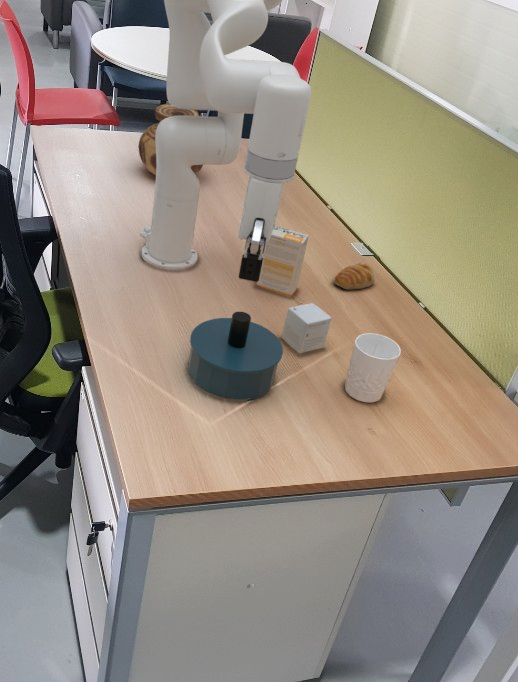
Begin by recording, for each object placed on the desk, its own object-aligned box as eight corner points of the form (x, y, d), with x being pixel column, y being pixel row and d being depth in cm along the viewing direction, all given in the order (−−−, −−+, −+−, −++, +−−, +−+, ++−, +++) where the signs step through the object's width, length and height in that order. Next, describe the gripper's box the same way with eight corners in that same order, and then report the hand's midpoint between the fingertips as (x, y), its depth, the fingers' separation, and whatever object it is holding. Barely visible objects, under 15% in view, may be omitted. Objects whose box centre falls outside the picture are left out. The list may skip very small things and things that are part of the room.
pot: (170, 369, 133) (174, 340, 129) (227, 341, 142) (232, 313, 139) (234, 413, 125) (240, 383, 121) (289, 380, 134) (296, 351, 131)
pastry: (348, 295, 162) (353, 280, 160) (325, 281, 166) (329, 266, 164) (375, 285, 168) (380, 270, 165) (352, 272, 172) (356, 257, 170)
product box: (298, 356, 141) (306, 323, 137) (279, 339, 145) (287, 307, 141) (323, 349, 144) (332, 317, 140) (304, 333, 148) (312, 301, 144)
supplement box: (297, 289, 162) (310, 234, 155) (290, 298, 158) (303, 243, 151) (262, 278, 164) (273, 223, 157) (254, 287, 161) (265, 231, 153)
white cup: (387, 385, 136) (403, 340, 131) (382, 410, 130) (398, 364, 124) (344, 373, 138) (358, 328, 132) (338, 397, 132) (352, 351, 126)
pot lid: (170, 342, 130) (174, 310, 126) (231, 313, 140) (237, 282, 136) (240, 388, 121) (247, 355, 117) (300, 354, 131) (308, 322, 127)
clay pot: (215, 181, 199) (195, 109, 188) (148, 199, 202) (125, 129, 191) (213, 155, 214) (194, 87, 203) (151, 172, 218) (129, 106, 206)
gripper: (251, 141, 118) (234, 238, 128) (239, 180, 104) (222, 286, 114) (298, 149, 118) (277, 246, 128) (293, 189, 104) (270, 295, 113)
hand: (251, 265), depth 121 cm, fingers open, 9 cm apart
